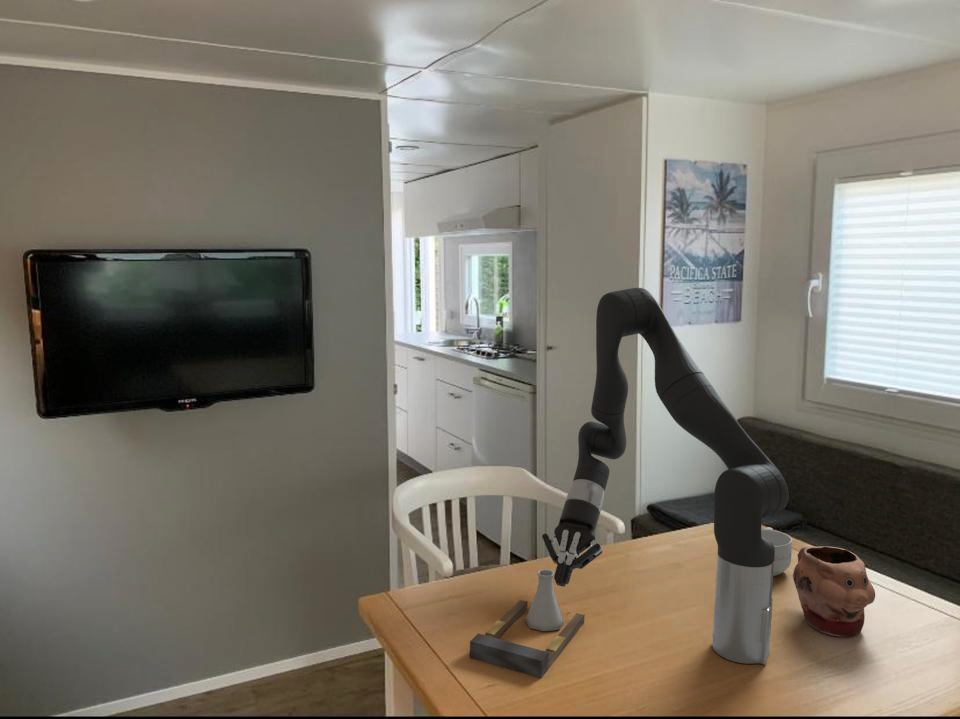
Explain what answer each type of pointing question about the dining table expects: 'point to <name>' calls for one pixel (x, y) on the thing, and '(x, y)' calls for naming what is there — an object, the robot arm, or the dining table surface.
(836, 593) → the decorative planter
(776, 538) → the teacup
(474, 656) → the guide track
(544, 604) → the flask
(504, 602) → the dining table surface
